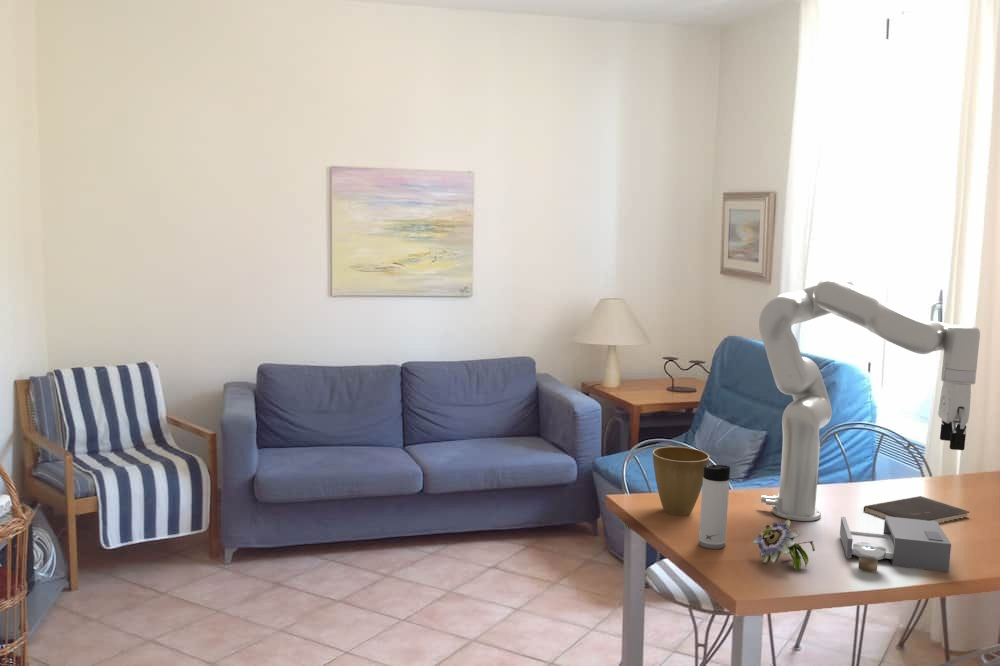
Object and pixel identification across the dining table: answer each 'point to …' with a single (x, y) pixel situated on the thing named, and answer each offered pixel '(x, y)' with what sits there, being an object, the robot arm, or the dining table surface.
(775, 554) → the passion flower
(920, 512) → the hardcover book
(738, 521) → the dining table surface
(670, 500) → the plant pot
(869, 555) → the disc
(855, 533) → the tray
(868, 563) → the stand
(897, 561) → the housing
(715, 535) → the travel mug
